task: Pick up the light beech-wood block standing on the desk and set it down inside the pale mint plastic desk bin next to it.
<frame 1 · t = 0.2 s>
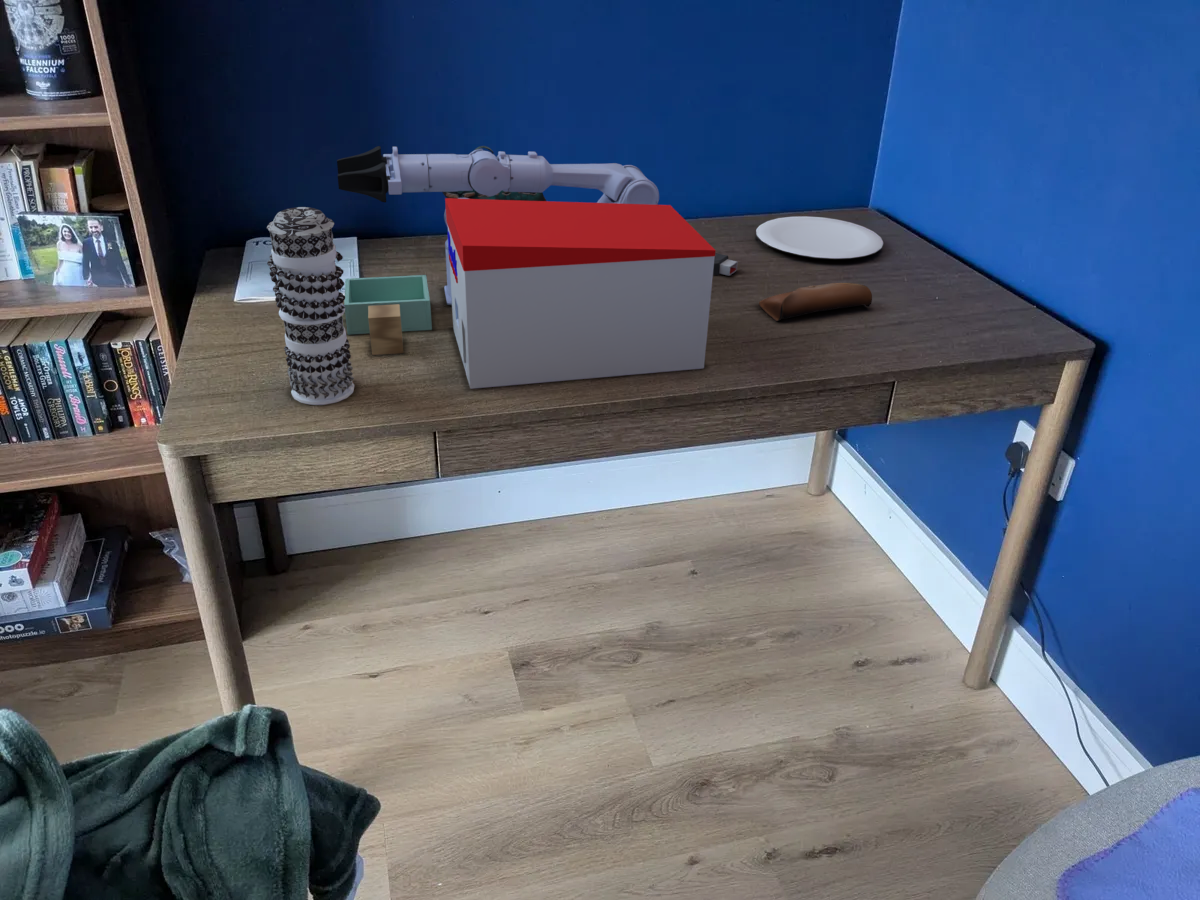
hand: (337, 174, 147), 21 cm above the table, tool horizontal, fingers open, 7 cm apart
decorative candle: (323, 391, 132), on the table
beech block: (387, 347, 144), on the table
plate: (817, 244, 191), on the table
desk bin: (389, 318, 153), on the table
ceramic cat: (496, 253, 181), on the table
sunglasses case: (812, 309, 162), on the table
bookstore: (573, 349, 146), on the table
usb drive: (703, 268, 177), on the table
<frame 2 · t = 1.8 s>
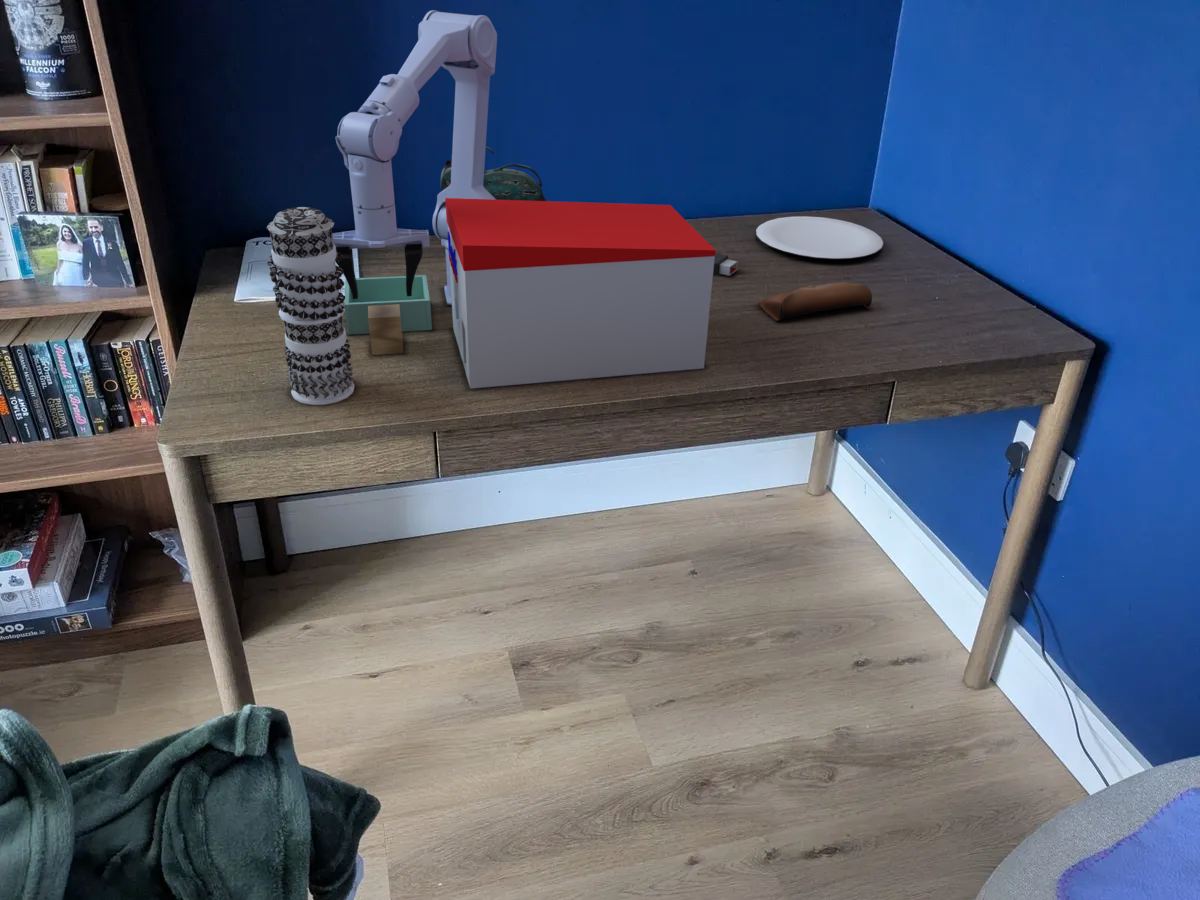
hand: (382, 295, 140), 8 cm above the table, tool pointing down, fingers open, 7 cm apart
nothing on the table moved.
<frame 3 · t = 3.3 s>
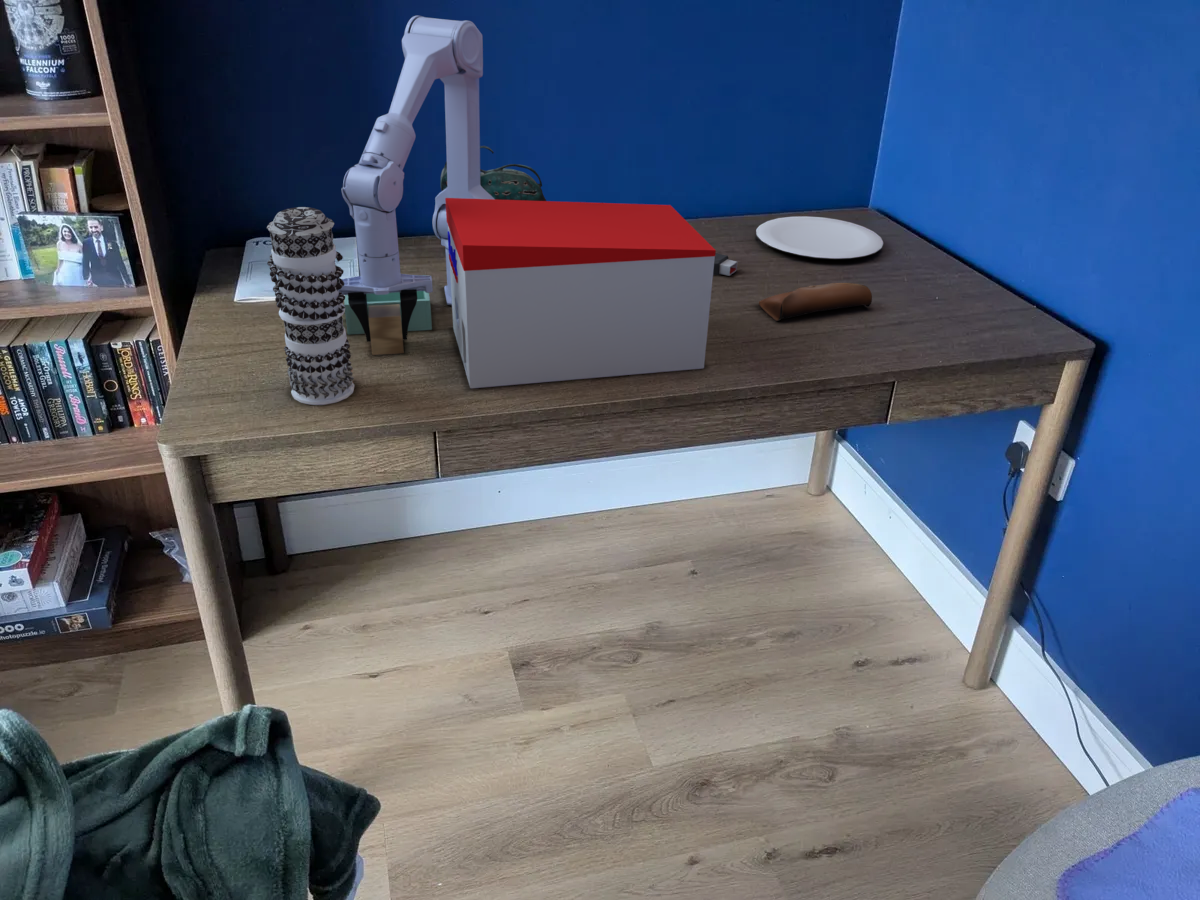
hand: (386, 338, 143), 2 cm above the table, tool pointing down, fingers closed on beech block, 4 cm apart
beech block: (387, 347, 144), on the table, touching gripper
everything else where it was.
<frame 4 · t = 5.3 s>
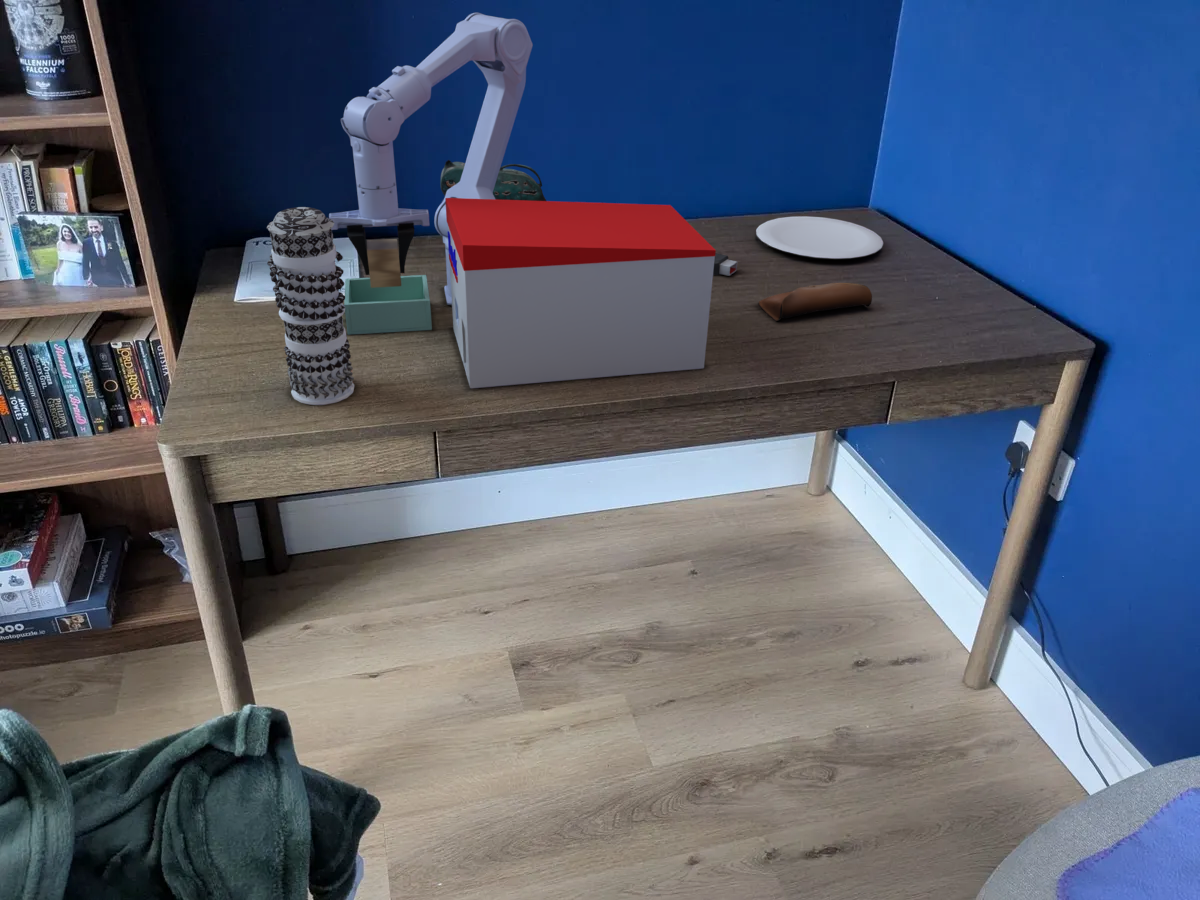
hand: (384, 271, 147), 9 cm above the table, tool pointing down, fingers closed on beech block, 4 cm apart
beech block: (385, 281, 148), point 7 cm above the table, touching gripper
everything else where it was.
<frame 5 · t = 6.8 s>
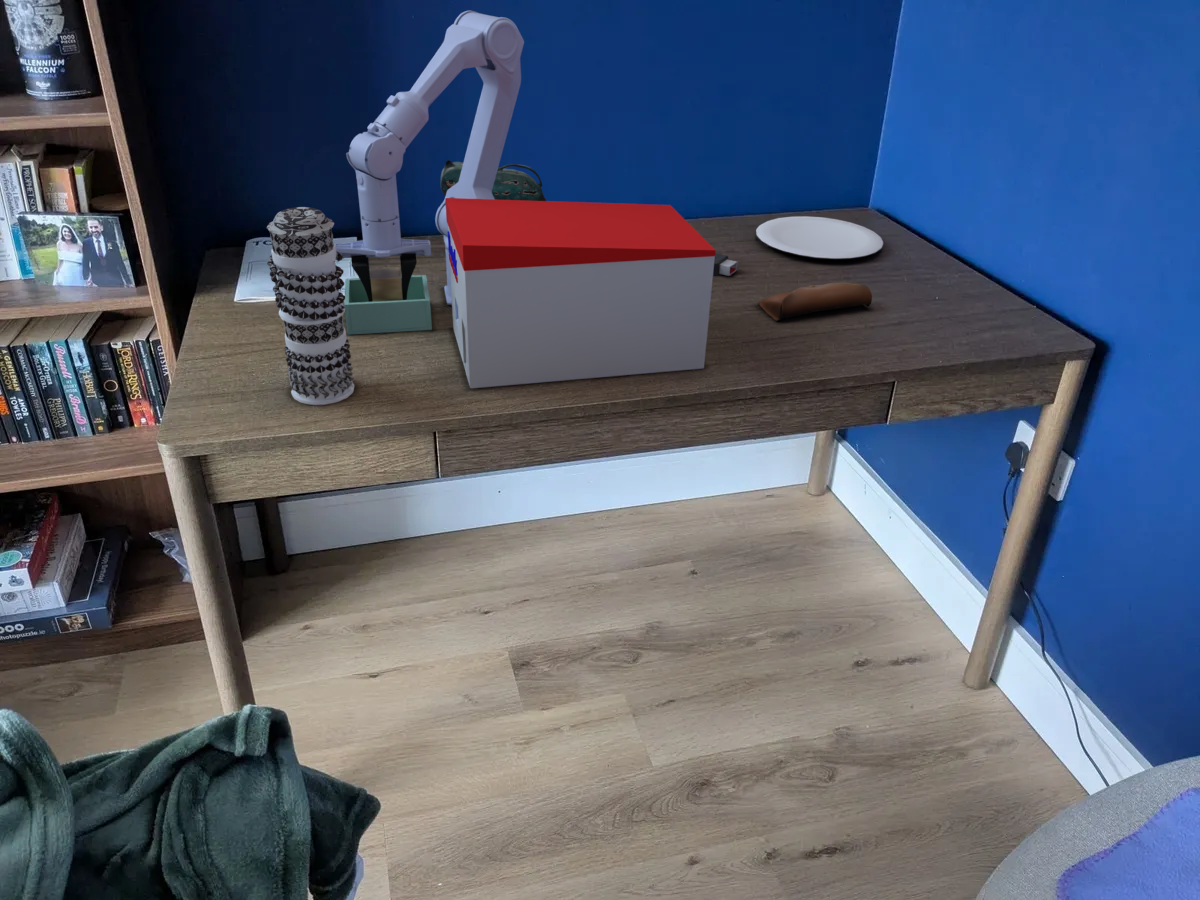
hand: (387, 299, 152), 3 cm above the table, tool pointing down, fingers closed on beech block, 4 cm apart
beech block: (388, 309, 153), point 2 cm above the table, touching gripper
everything else where it was.
when the fingers open (2 cm above the table, at t = 7.6 s): beech block stays where it is, resting on desk bin.
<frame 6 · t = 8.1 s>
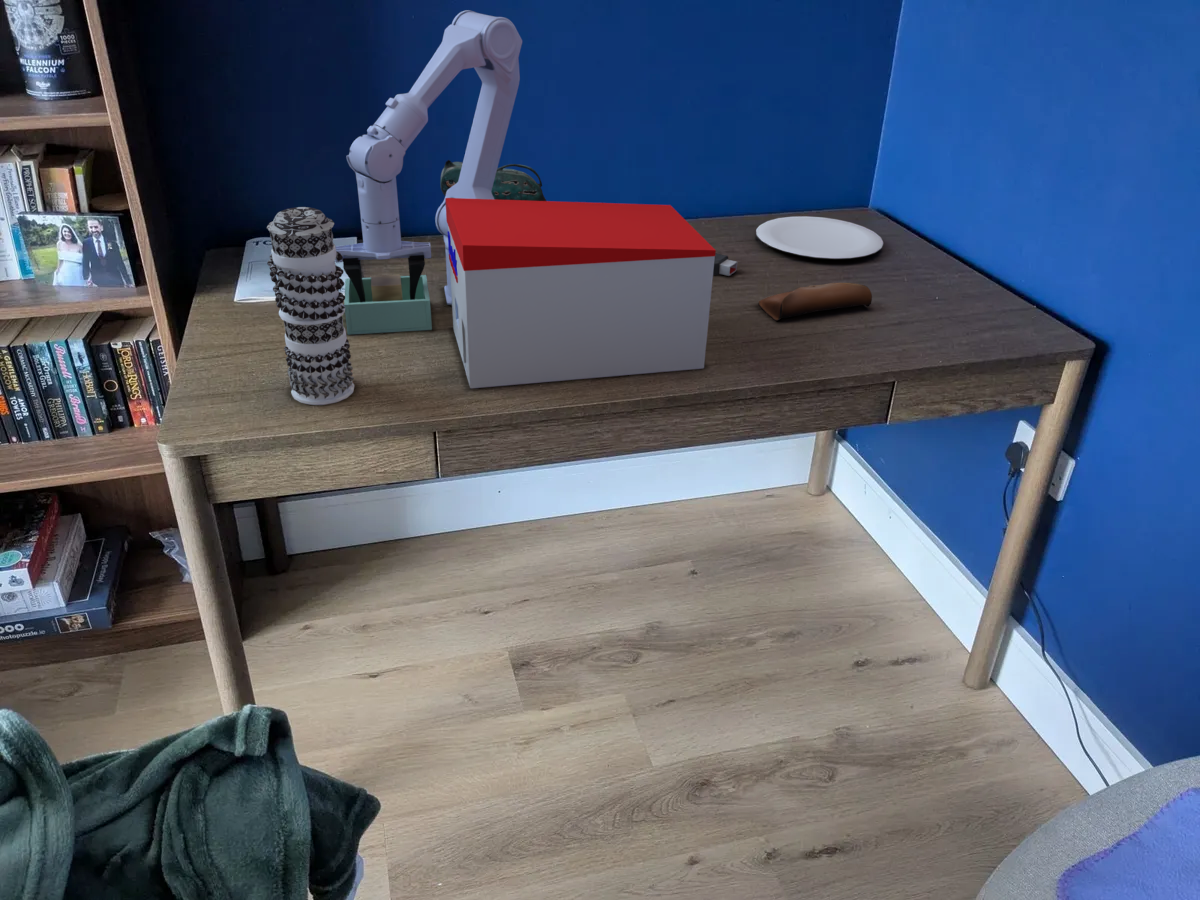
hand: (388, 302, 152), 3 cm above the table, tool pointing down, fingers open, 7 cm apart
beech block: (389, 315, 153), resting on desk bin
everything else where it was.
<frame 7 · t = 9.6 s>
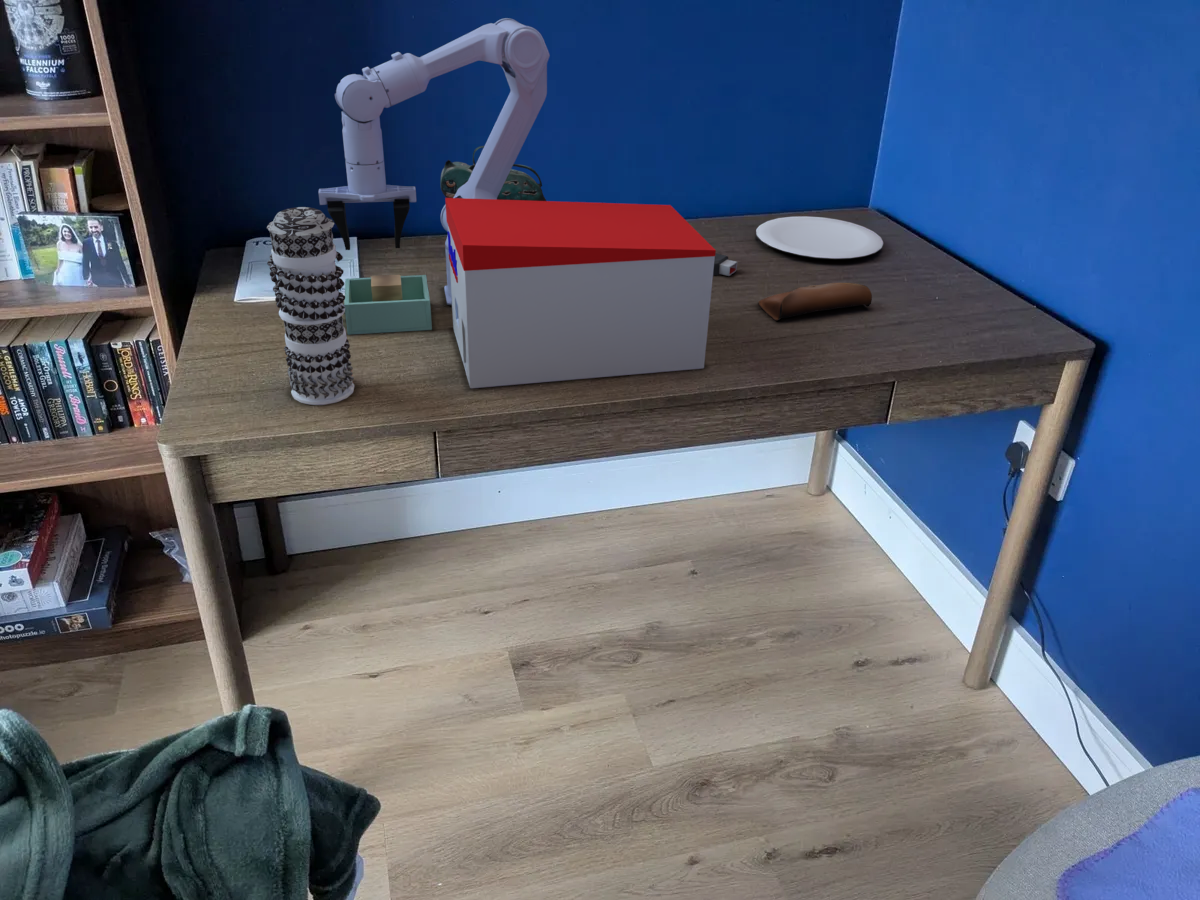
hand: (372, 247, 151), 10 cm above the table, tool pointing down, fingers open, 7 cm apart
nothing on the table moved.
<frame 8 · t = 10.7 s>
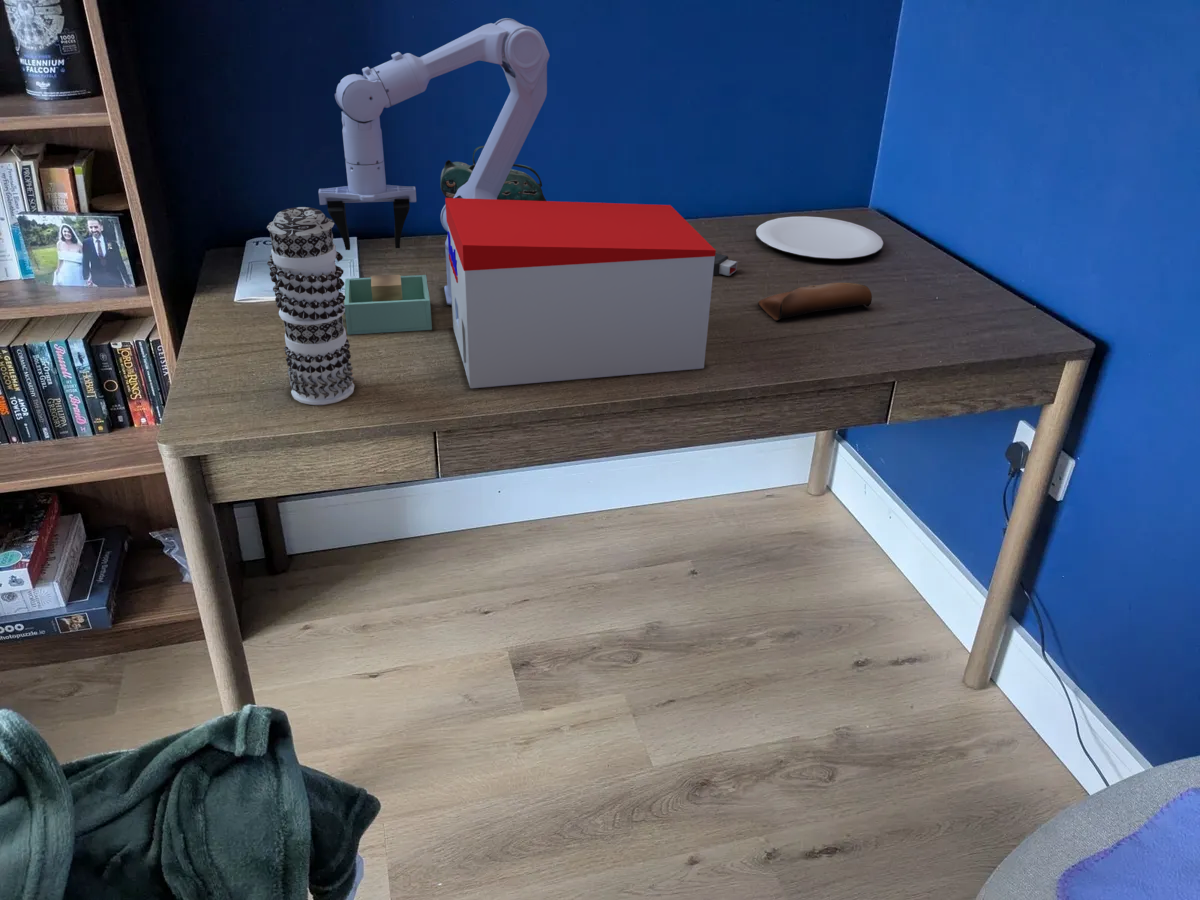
hand: (372, 247, 151), 10 cm above the table, tool pointing down, fingers open, 7 cm apart
nothing on the table moved.
at the end: beech block inside the target area in the desk bin (0.0 cm from its centre), point 0.5 cm above the desk bin's base; the gripper is holding nothing; beech block tilted 0° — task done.
